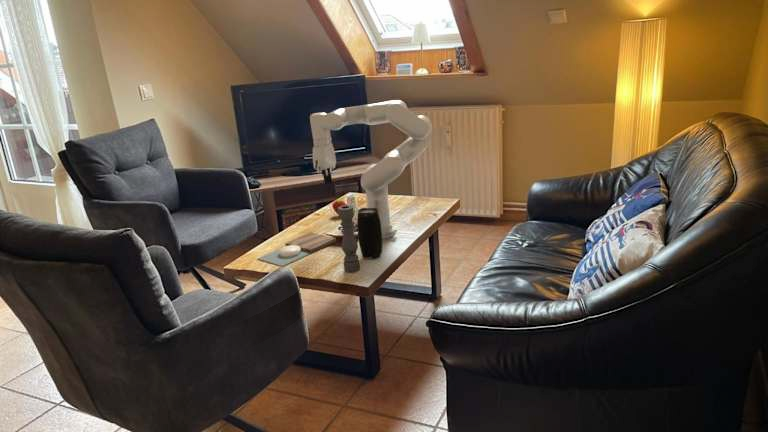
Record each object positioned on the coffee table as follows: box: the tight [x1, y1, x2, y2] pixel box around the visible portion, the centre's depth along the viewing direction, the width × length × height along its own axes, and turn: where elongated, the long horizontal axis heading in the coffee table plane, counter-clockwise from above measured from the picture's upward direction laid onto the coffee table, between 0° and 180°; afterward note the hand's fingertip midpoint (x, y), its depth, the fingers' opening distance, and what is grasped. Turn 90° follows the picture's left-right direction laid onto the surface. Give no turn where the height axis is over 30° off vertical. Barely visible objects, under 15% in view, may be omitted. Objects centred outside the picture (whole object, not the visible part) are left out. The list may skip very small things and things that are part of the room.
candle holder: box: [337, 204, 361, 274], centre depth 208 cm, size 6×6×25 cm
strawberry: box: [332, 196, 347, 216], centre depth 276 cm, size 6×8×10 cm
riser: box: [284, 232, 337, 254], centre depth 242 cm, size 16×15×2 cm
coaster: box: [278, 245, 301, 257], centre depth 233 cm, size 9×9×2 cm
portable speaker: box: [356, 207, 383, 260], centre depth 220 cm, size 9×9×20 cm
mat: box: [257, 248, 311, 267], centre depth 231 cm, size 16×15×1 cm
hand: (328, 183), depth 242 cm, fingers closed
